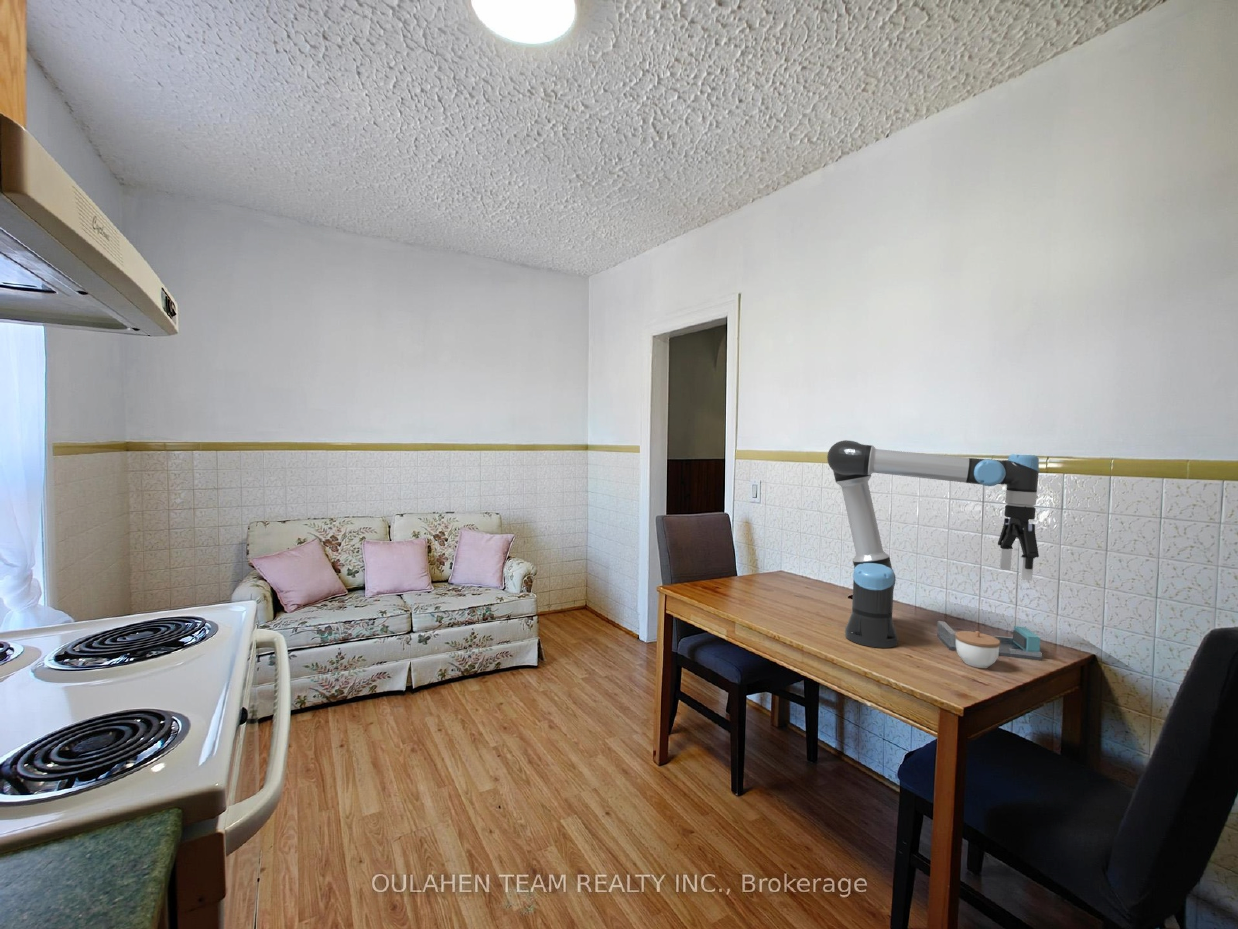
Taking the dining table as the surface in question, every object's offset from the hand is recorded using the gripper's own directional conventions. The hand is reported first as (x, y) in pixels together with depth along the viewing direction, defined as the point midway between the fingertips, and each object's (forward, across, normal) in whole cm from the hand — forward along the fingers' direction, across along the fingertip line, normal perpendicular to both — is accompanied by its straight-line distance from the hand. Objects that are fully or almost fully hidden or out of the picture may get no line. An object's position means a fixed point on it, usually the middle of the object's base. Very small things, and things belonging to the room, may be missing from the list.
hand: (1015, 574), depth 165 cm
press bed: (+24, +1, +6) cm, 25 cm away
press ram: (+22, +1, -4) cm, 23 cm away
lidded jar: (+24, -15, +14) cm, 32 cm away
